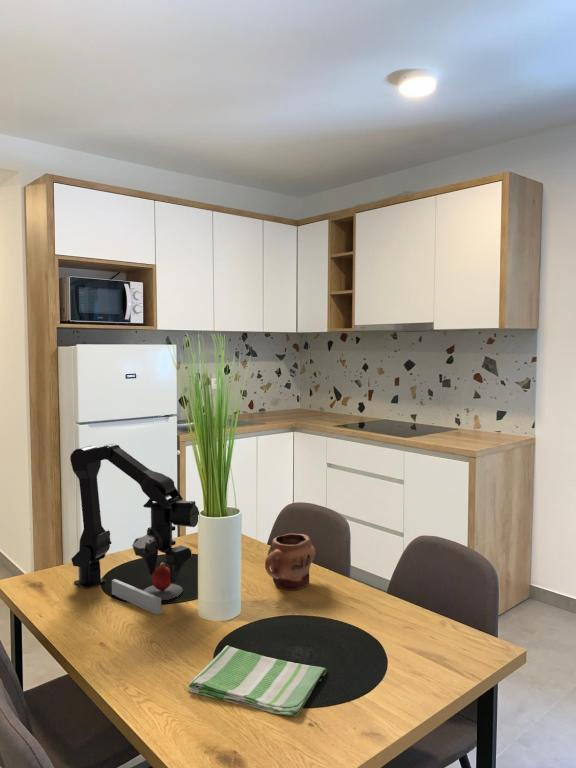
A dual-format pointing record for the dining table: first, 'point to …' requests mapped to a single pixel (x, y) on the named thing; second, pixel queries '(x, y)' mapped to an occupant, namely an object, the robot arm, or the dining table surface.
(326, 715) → the dining table surface
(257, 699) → the dish towel
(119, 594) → the low wall
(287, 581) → the brown clay mug
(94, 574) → the robot arm
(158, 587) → the onion
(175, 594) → the rubber mat
